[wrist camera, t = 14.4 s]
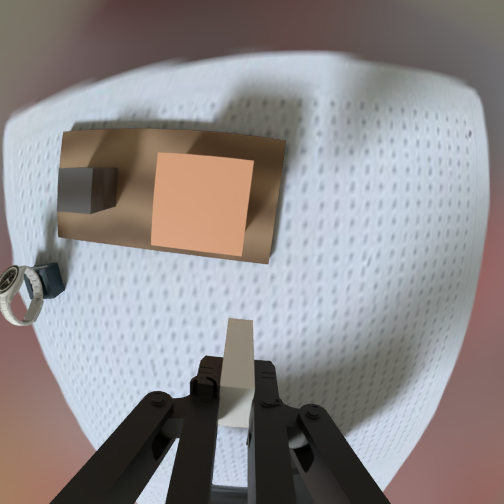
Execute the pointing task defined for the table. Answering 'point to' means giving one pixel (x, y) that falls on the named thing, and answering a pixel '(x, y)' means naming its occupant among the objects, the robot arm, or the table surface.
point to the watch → (29, 289)
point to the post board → (143, 181)
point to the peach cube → (201, 202)
